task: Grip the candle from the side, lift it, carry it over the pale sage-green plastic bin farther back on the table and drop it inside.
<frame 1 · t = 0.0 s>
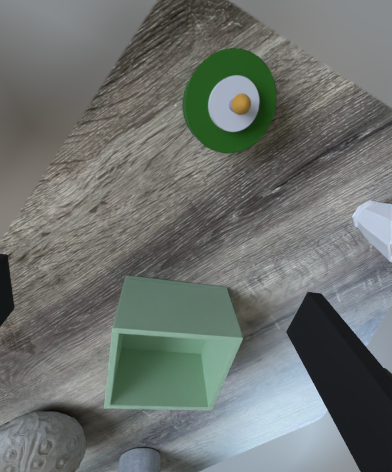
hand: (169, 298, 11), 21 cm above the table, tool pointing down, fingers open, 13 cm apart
decorative shell: (46, 422, 51), on the table
candle: (219, 106, 27), on the table
cup: (375, 212, 35), on the table
vase: (140, 455, 61), on the table
bin: (169, 318, 40), on the table
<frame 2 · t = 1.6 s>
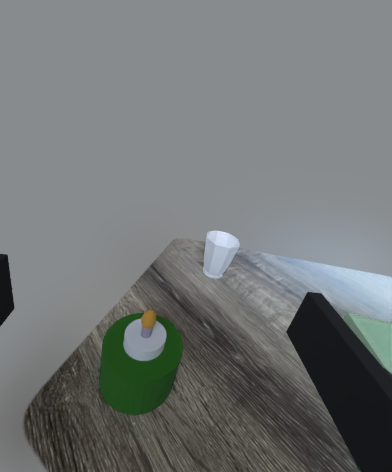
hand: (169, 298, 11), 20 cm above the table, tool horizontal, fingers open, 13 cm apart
candle: (137, 376, 28), on the table
cup: (210, 268, 52), on the table
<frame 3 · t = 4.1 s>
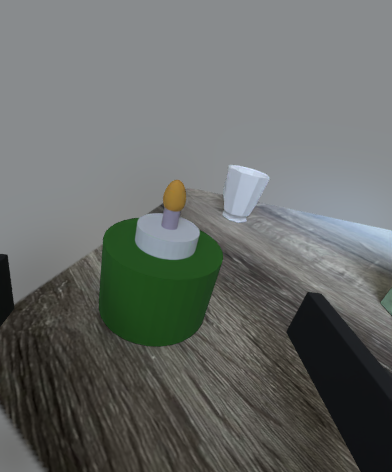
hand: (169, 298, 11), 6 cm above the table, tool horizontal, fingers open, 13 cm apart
candle: (153, 303, 20), on the table
cup: (230, 214, 43), on the table
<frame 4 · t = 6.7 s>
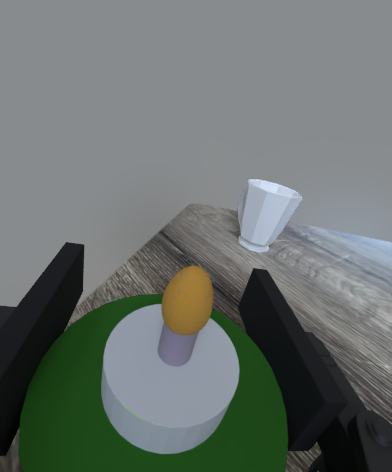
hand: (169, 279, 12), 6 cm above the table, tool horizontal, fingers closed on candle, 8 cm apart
candle: (145, 457, 11), on the table, touching gripper
cup: (247, 240, 35), on the table
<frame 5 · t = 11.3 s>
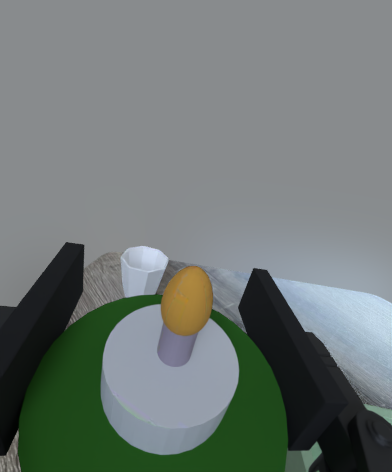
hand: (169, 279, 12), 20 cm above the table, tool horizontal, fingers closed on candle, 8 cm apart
candle: (145, 457, 11), point 14 cm above the table, touching gripper
cup: (137, 294, 40), on the table
when the fingers open (14 cm above the table, at t = 15.9 s): candle drops 7 cm, resting on bin.
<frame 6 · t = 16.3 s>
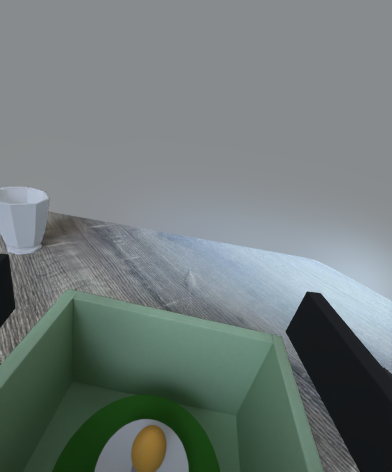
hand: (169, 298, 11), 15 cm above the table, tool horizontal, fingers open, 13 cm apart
cup: (27, 242, 37), on the table
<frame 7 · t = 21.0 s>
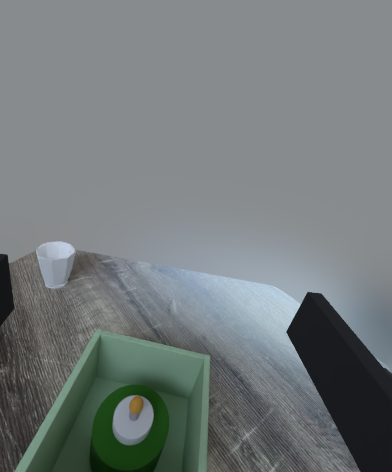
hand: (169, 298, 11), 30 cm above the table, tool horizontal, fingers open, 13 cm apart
candle: (126, 447, 30), point 1 cm above the table, touching bin
cup: (57, 278, 53), on the table
bin: (126, 448, 30), on the table
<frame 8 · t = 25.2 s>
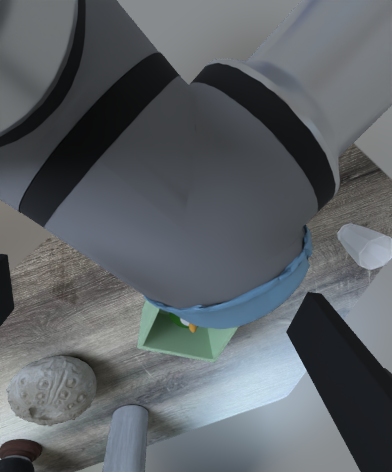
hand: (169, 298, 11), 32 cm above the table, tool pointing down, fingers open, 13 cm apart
decorative shell: (62, 369, 59), on the table
candle: (189, 292, 51), point 1 cm above the table, touching bin
cup: (353, 232, 49), on the table
vase: (131, 413, 70), on the table
bin: (189, 290, 51), on the table
black ball on stand: (22, 448, 73), on the table
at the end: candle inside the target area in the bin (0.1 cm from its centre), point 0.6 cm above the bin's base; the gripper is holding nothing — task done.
